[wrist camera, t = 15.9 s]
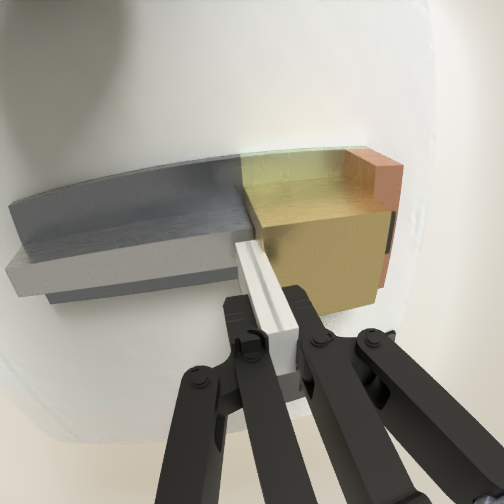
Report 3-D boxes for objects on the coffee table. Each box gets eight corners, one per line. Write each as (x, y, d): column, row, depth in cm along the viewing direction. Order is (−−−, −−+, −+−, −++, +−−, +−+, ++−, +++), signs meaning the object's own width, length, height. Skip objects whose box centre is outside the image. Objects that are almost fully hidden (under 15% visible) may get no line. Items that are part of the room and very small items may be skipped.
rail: (53, 298, 22) (34, 338, 17) (13, 202, 17) (-21, 233, 13) (355, 252, 24) (384, 288, 20) (364, 146, 20) (404, 165, 16)
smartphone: (390, 363, 35) (282, 404, 34) (387, 358, 36) (280, 398, 35) (397, 331, 31) (272, 377, 31) (393, 325, 32) (270, 370, 31)
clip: (250, 268, 22) (267, 326, 17) (243, 185, 19) (262, 227, 14) (338, 254, 23) (374, 303, 18) (344, 175, 20) (391, 211, 15)
